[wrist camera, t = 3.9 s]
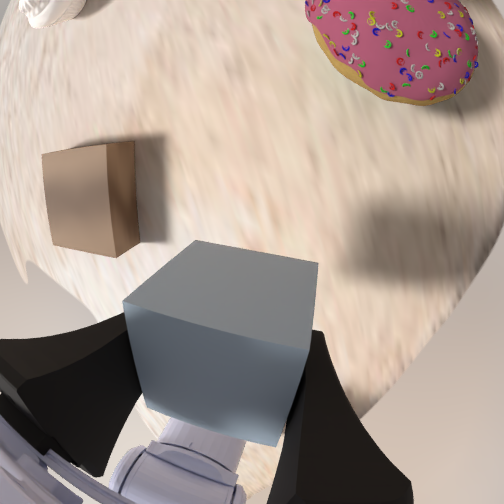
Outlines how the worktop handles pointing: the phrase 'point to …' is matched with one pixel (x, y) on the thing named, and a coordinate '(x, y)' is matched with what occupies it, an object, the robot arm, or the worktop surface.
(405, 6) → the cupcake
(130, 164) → the walnut base
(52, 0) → the muffin
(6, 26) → the worktop surface
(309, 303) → the blue cube
